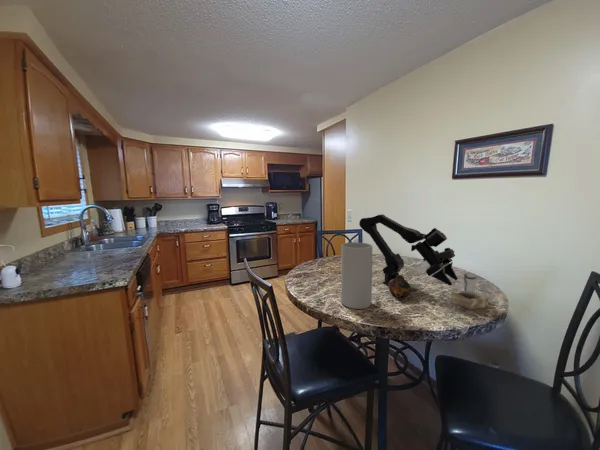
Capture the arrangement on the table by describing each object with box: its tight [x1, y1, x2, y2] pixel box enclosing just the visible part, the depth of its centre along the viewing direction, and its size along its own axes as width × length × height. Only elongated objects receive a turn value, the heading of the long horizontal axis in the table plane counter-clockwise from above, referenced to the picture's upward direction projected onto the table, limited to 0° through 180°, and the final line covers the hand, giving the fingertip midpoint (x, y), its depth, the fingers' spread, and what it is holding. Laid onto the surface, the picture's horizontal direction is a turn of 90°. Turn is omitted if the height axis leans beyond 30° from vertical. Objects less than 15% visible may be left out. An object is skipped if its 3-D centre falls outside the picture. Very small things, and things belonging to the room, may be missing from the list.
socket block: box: [450, 290, 489, 310], centre depth 100 cm, size 9×9×4 cm
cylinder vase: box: [340, 242, 373, 310], centre depth 101 cm, size 12×12×25 cm
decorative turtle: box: [387, 274, 412, 298], centre depth 110 cm, size 10×15×8 cm, turn 160°
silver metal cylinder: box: [462, 272, 477, 299], centre depth 100 cm, size 4×4×12 cm
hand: (454, 282), depth 104 cm, fingers open, 9 cm apart
